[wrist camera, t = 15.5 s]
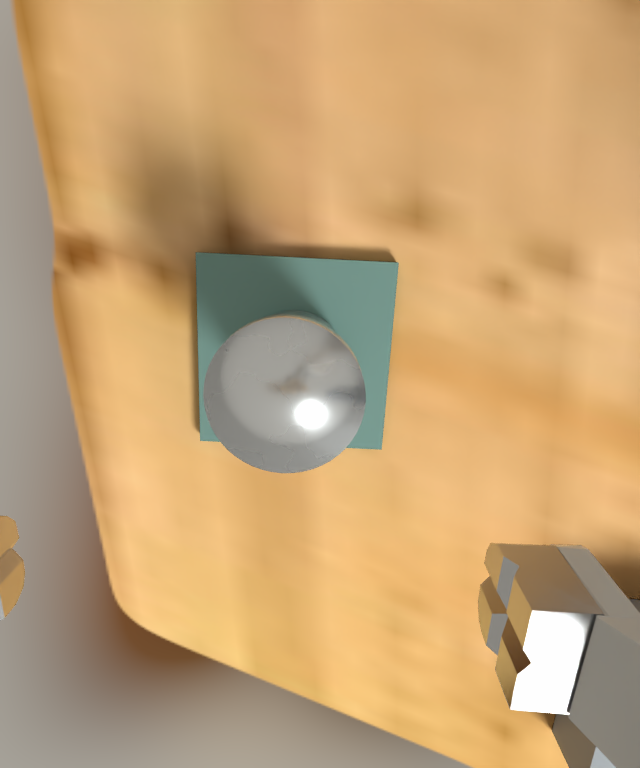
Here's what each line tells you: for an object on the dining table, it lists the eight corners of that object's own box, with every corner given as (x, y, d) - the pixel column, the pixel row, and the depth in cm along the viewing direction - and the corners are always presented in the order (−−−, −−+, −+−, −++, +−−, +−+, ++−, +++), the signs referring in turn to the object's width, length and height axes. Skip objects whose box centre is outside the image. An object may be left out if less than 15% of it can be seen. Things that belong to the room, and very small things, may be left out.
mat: (198, 252, 24) (195, 252, 23) (396, 262, 24) (398, 262, 24) (202, 436, 27) (200, 440, 26) (380, 445, 27) (381, 449, 26)
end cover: (235, 294, 24) (201, 313, 17) (358, 300, 24) (372, 322, 17) (236, 410, 26) (204, 469, 19) (350, 416, 26) (359, 476, 19)
